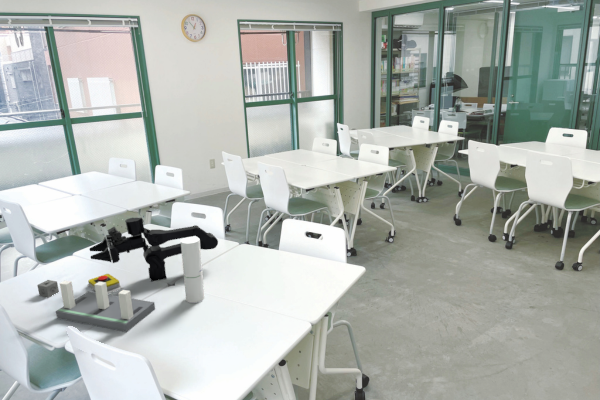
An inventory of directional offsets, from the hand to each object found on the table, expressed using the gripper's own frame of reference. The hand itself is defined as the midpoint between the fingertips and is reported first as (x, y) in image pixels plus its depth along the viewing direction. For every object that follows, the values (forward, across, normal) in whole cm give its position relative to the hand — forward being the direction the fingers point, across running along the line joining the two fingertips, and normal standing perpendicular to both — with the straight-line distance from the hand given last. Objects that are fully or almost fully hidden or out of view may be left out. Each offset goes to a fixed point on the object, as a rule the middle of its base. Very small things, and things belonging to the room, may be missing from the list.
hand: (90, 253), depth 177 cm
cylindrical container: (-33, +27, +20) cm, 47 cm away
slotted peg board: (-1, +22, +17) cm, 28 cm away
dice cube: (+19, -6, +15) cm, 25 cm away
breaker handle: (-1, +23, +13) cm, 27 cm away
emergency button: (-2, -2, +18) cm, 18 cm away
